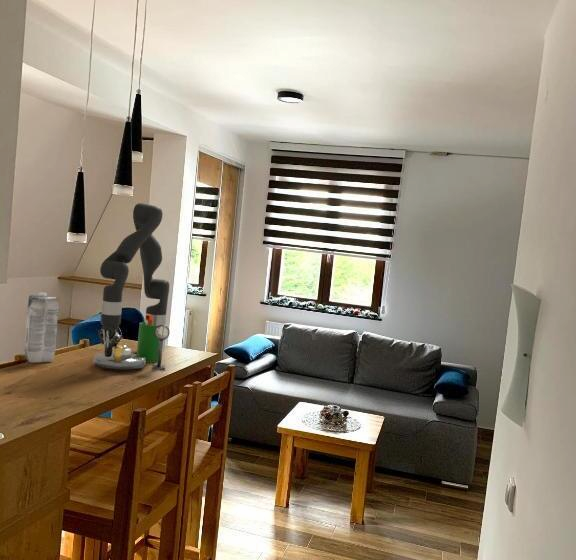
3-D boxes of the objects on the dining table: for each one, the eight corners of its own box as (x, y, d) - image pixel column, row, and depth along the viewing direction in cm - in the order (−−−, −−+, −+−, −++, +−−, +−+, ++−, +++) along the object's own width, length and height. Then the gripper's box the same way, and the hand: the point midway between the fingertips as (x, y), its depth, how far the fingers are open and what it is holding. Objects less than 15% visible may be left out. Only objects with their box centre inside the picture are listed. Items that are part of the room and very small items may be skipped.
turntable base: (118, 363, 256) (118, 360, 256) (137, 367, 252) (137, 365, 252) (100, 366, 247) (101, 363, 247) (120, 371, 243) (120, 368, 243)
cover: (109, 356, 250) (110, 344, 249) (125, 355, 255) (126, 343, 254) (118, 359, 245) (119, 347, 245) (134, 358, 250) (135, 346, 250)
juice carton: (55, 362, 246) (60, 294, 245) (27, 363, 240) (32, 294, 239) (49, 358, 254) (54, 292, 252) (22, 358, 248) (27, 291, 246)
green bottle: (162, 359, 272) (166, 314, 271) (156, 363, 263) (160, 316, 262) (140, 356, 273) (143, 311, 272) (132, 360, 264) (136, 313, 263)
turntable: (97, 356, 258) (99, 336, 257) (147, 360, 261) (148, 340, 260) (89, 367, 238) (91, 345, 237) (143, 370, 241) (144, 349, 240)
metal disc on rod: (151, 366, 256) (155, 323, 255) (166, 367, 257) (170, 324, 256) (151, 369, 251) (154, 325, 250) (166, 370, 252) (170, 326, 251)
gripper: (129, 315, 240) (126, 359, 241) (109, 309, 248) (106, 351, 250) (113, 316, 234) (110, 361, 236) (92, 310, 242) (89, 353, 244)
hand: (108, 356), depth 243 cm, fingers closed
